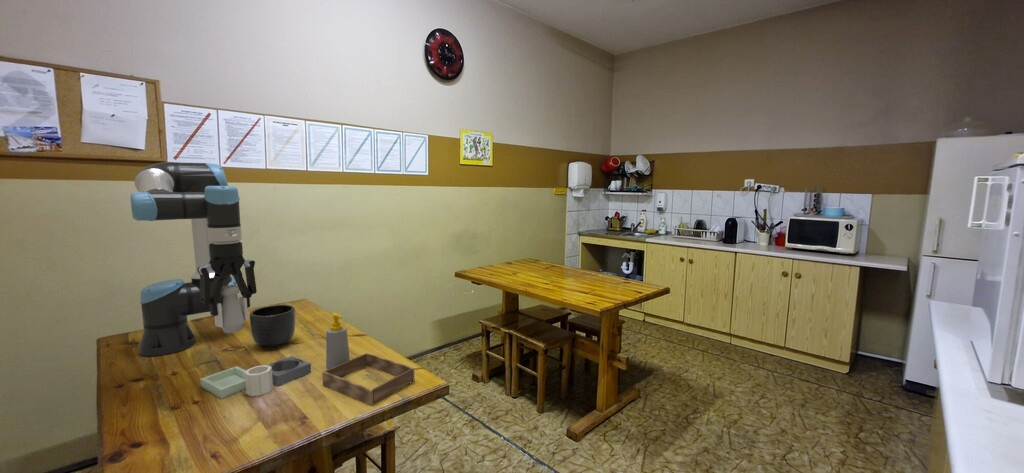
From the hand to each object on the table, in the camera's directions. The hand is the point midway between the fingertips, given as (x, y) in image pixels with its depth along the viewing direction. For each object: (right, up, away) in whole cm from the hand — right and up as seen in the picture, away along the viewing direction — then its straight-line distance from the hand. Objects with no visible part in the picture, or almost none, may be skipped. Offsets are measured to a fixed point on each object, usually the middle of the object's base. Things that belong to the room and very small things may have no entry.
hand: (232, 322), depth 114 cm
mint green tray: (-1, -18, +1) cm, 18 cm away
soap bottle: (+25, -18, +12) cm, 33 cm away
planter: (-6, -15, +31) cm, 34 cm away
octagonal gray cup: (+9, -19, -1) cm, 21 cm away
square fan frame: (+11, -18, +8) cm, 22 cm away
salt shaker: (0, -3, 0) cm, 3 cm away
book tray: (+38, -19, +3) cm, 42 cm away
